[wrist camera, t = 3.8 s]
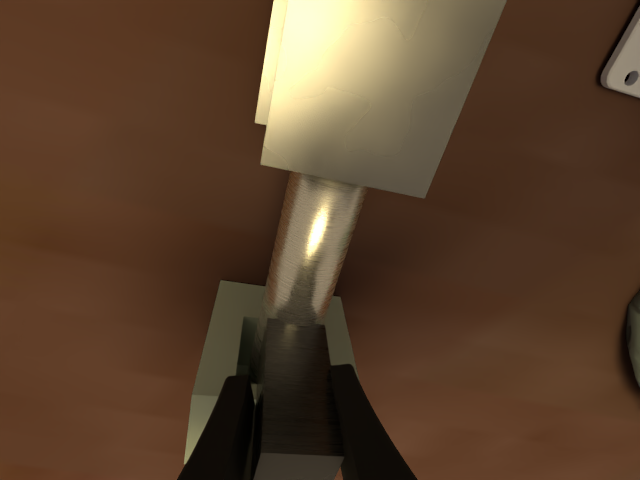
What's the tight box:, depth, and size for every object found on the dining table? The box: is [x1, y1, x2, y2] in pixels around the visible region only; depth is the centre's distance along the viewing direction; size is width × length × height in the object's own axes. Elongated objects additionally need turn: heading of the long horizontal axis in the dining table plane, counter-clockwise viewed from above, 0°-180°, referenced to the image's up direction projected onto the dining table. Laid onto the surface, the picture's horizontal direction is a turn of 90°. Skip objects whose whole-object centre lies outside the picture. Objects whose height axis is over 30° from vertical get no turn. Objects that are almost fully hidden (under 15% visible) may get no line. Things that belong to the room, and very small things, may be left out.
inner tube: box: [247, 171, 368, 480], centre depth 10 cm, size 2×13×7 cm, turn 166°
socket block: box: [184, 280, 360, 464], centre depth 16 cm, size 6×4×6 cm, turn 76°
